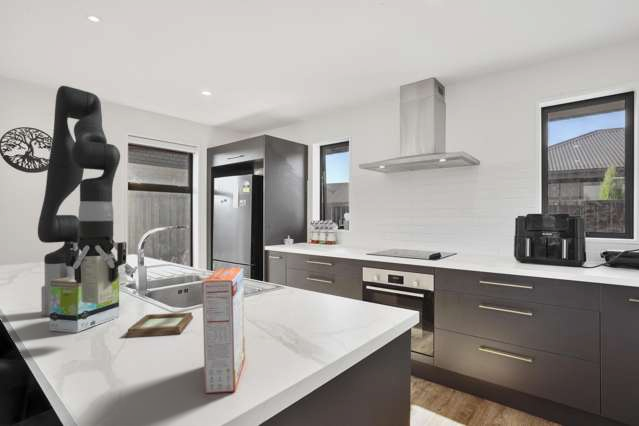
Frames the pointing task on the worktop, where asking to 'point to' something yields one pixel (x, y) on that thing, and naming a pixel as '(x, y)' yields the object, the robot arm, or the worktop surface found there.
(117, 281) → the tea box
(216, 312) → the cracker box
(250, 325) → the worktop surface
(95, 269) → the skincare box
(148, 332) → the brown wooden picture frame
